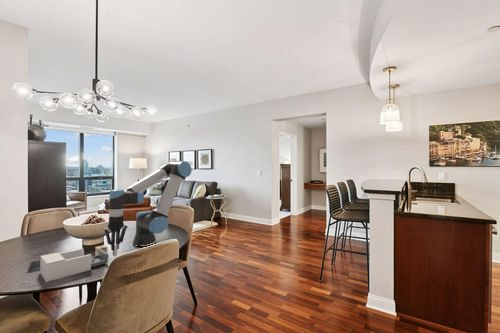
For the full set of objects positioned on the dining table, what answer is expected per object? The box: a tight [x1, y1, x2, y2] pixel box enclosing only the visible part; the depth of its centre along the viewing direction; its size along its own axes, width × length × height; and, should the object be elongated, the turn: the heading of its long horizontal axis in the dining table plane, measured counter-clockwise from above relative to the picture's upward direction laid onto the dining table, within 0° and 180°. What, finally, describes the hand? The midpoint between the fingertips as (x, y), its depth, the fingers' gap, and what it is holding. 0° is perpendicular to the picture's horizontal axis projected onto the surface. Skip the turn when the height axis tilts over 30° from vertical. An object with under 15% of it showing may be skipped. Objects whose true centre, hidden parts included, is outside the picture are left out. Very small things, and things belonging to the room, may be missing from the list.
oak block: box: [94, 244, 108, 256], centre depth 143 cm, size 5×5×5 cm
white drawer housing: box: [39, 248, 92, 283], centre depth 119 cm, size 18×14×9 cm
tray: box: [91, 249, 109, 268], centre depth 126 cm, size 17×11×5 cm
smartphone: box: [27, 260, 41, 274], centre depth 125 cm, size 8×1×15 cm
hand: (114, 255), depth 137 cm, fingers closed
